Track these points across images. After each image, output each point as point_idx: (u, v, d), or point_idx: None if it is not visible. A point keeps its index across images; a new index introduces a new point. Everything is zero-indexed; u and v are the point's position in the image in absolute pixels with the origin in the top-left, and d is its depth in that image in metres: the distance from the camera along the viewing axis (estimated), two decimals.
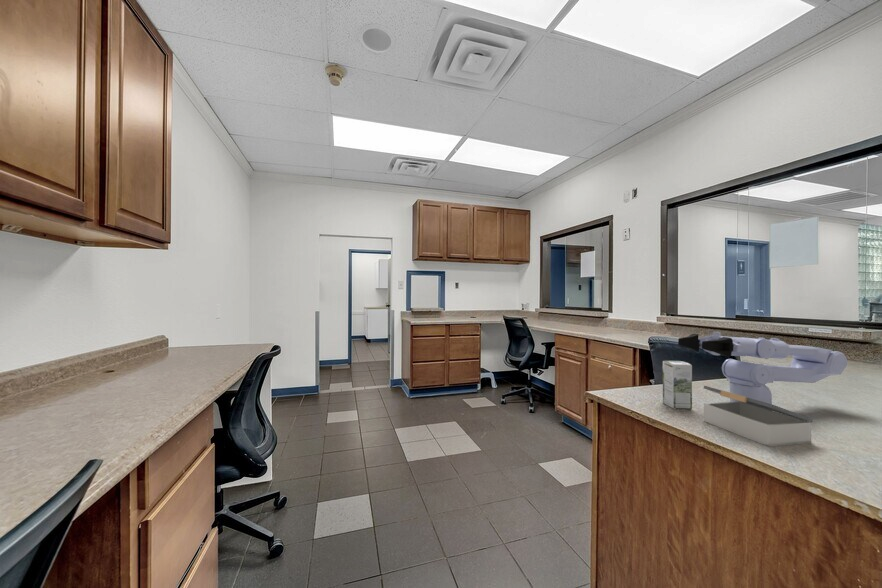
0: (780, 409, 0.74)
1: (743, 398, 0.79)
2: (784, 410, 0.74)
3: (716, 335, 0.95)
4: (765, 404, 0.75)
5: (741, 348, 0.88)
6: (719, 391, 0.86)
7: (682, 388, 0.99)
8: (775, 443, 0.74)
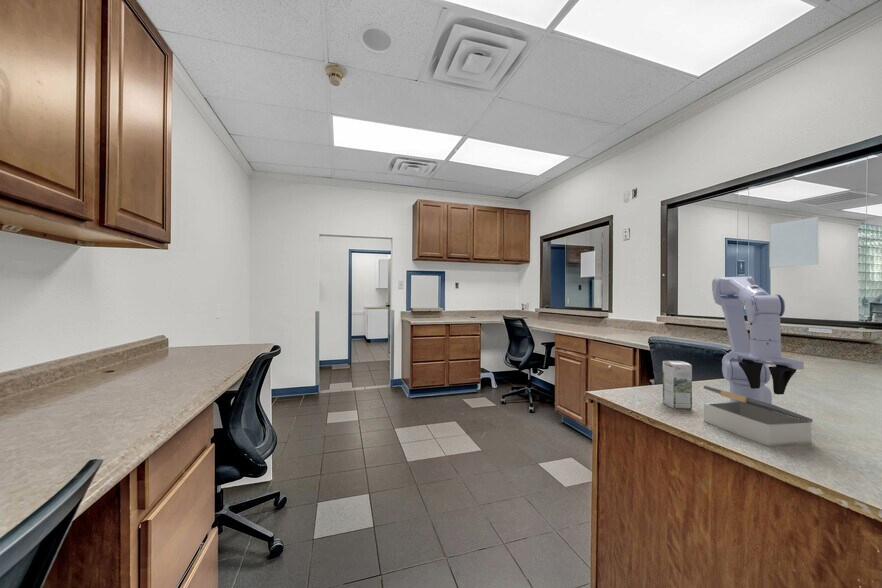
0: (780, 409, 0.74)
1: (743, 398, 0.79)
2: (784, 410, 0.74)
3: (757, 359, 0.83)
4: (765, 404, 0.75)
5: (800, 363, 0.76)
6: (719, 391, 0.86)
7: (682, 388, 0.99)
8: (775, 443, 0.74)
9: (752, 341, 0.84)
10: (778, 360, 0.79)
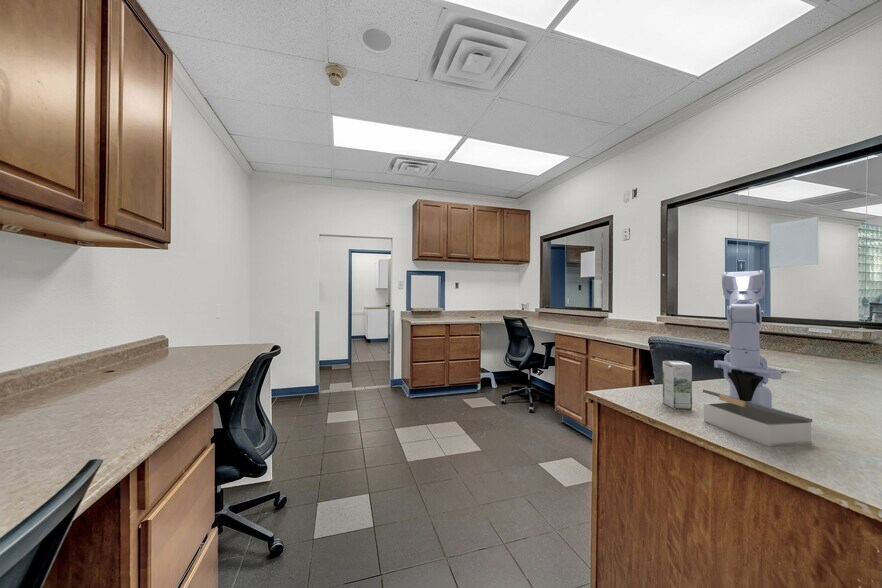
0: (779, 413, 0.74)
1: (742, 403, 0.79)
2: (783, 413, 0.74)
3: (736, 368, 0.82)
4: (764, 409, 0.75)
5: (777, 373, 0.75)
6: (718, 395, 0.86)
7: (682, 388, 0.99)
8: (775, 443, 0.74)
9: (731, 350, 0.83)
10: (756, 370, 0.78)
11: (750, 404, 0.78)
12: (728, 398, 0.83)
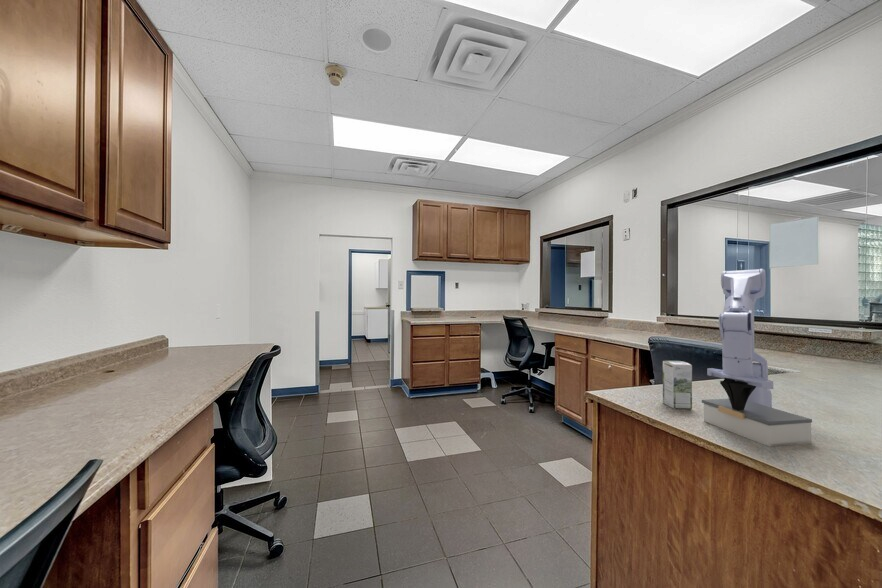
0: (778, 423, 0.74)
1: (741, 415, 0.79)
2: (782, 422, 0.74)
3: (729, 377, 0.81)
4: (762, 421, 0.75)
5: (769, 383, 0.75)
6: (717, 406, 0.86)
7: (682, 388, 0.99)
8: (775, 443, 0.74)
9: (724, 358, 0.83)
10: (748, 379, 0.78)
11: (749, 416, 0.78)
12: (727, 410, 0.82)
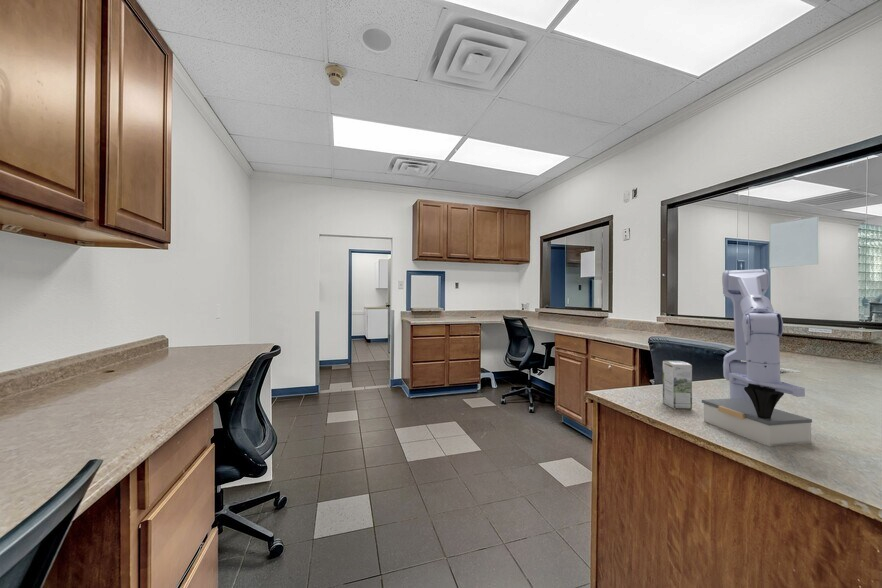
0: (778, 423, 0.74)
1: (741, 415, 0.79)
2: (782, 422, 0.74)
3: (754, 383, 0.76)
4: (762, 421, 0.75)
5: (801, 390, 0.69)
6: (717, 406, 0.86)
7: (682, 388, 0.99)
8: (775, 443, 0.74)
9: (748, 363, 0.77)
10: (777, 385, 0.72)
11: (749, 416, 0.78)
12: (727, 410, 0.82)
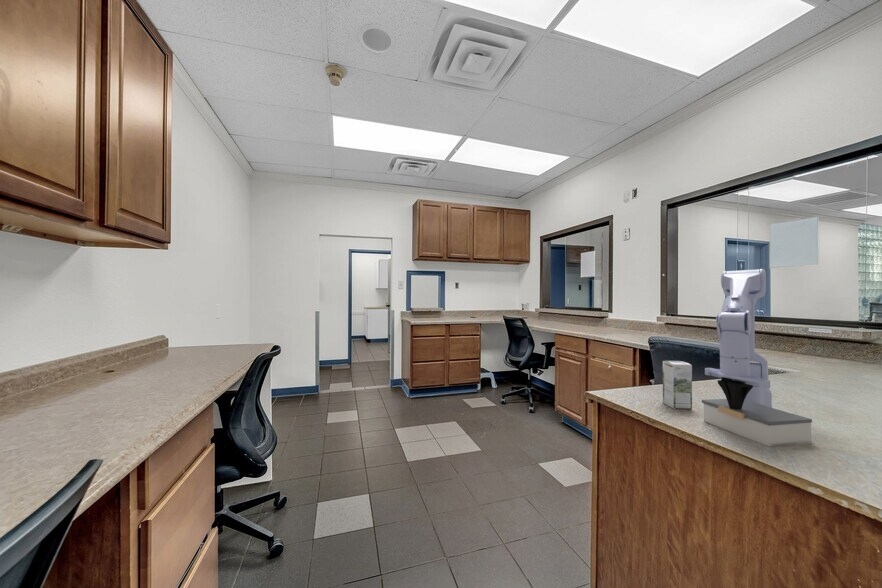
0: (778, 423, 0.74)
1: (741, 415, 0.79)
2: (782, 422, 0.74)
3: None
4: (762, 421, 0.75)
5: (766, 383, 0.76)
6: (717, 406, 0.86)
7: (682, 388, 0.99)
8: (775, 443, 0.74)
9: (721, 358, 0.84)
10: (745, 378, 0.79)
11: (749, 416, 0.78)
12: (727, 410, 0.82)
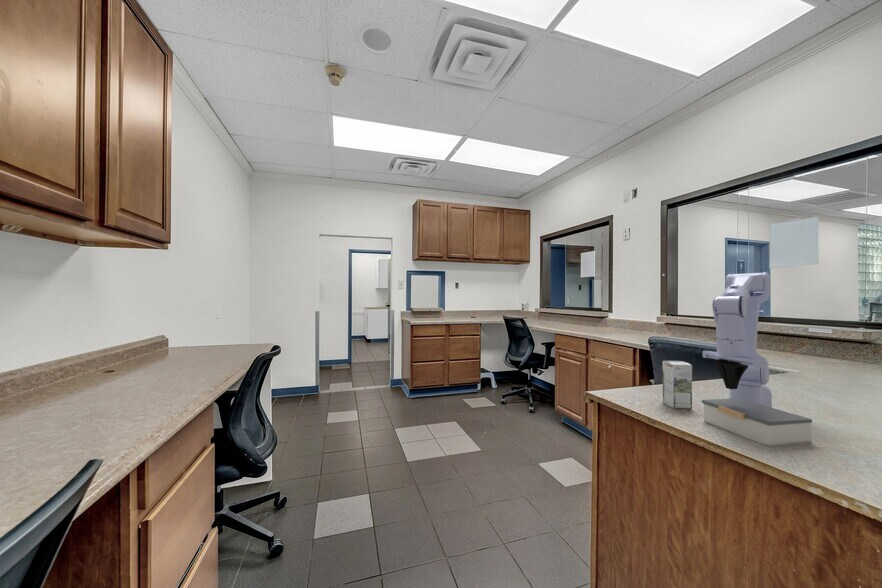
0: (778, 423, 0.74)
1: (741, 415, 0.79)
2: (782, 422, 0.74)
3: None
4: (762, 421, 0.75)
5: (760, 362, 0.79)
6: (717, 406, 0.86)
7: (682, 388, 0.99)
8: (775, 443, 0.74)
9: (718, 340, 0.87)
10: (740, 359, 0.82)
11: (749, 416, 0.78)
12: (727, 410, 0.82)
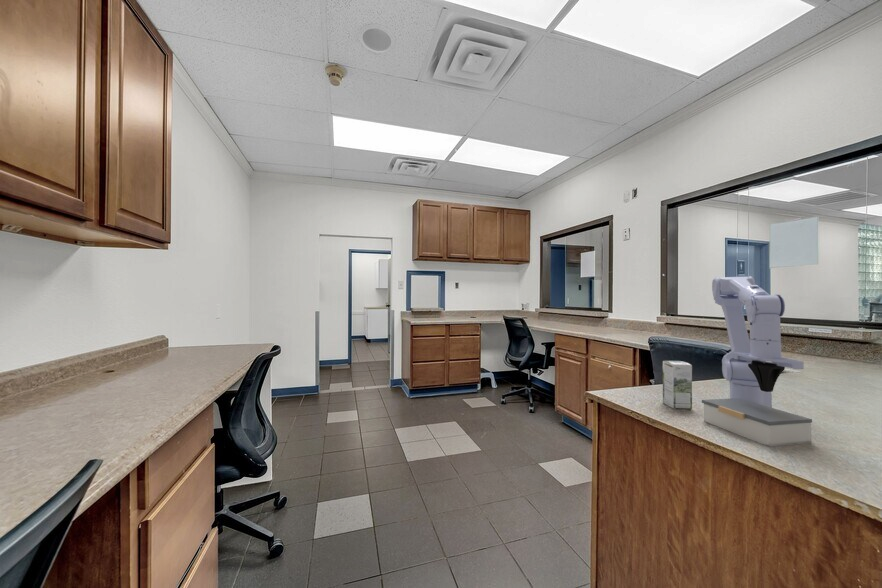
0: (778, 423, 0.74)
1: (741, 415, 0.79)
2: (782, 422, 0.74)
3: (757, 359, 0.83)
4: (762, 421, 0.75)
5: (800, 363, 0.76)
6: (717, 406, 0.86)
7: (682, 388, 0.99)
8: (775, 443, 0.74)
9: (752, 341, 0.84)
10: (778, 360, 0.79)
11: (749, 416, 0.78)
12: (727, 410, 0.82)
